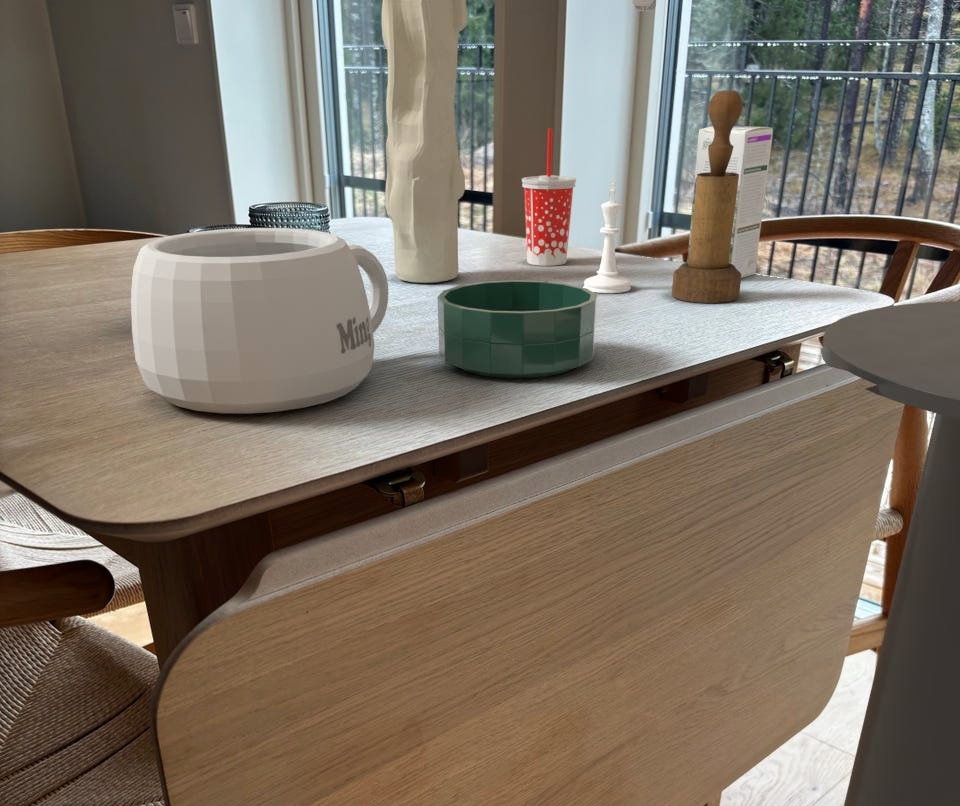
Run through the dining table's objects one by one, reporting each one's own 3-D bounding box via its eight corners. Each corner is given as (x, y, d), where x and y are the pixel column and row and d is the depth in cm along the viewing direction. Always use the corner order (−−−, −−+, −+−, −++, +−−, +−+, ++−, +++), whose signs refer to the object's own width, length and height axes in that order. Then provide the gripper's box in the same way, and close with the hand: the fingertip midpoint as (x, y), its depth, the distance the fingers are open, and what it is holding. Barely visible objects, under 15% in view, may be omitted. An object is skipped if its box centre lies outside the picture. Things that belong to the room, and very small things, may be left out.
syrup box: (757, 274, 108) (776, 125, 100) (728, 282, 104) (746, 128, 97) (712, 268, 111) (727, 124, 104) (683, 275, 107) (697, 126, 100)
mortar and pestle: (683, 304, 94) (704, 91, 85) (662, 291, 100) (679, 89, 91) (749, 301, 95) (776, 90, 86) (724, 288, 101) (747, 89, 92)
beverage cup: (583, 262, 115) (589, 128, 108) (545, 268, 111) (549, 130, 104) (547, 256, 119) (551, 126, 112) (510, 261, 116) (511, 128, 108)
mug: (240, 441, 61) (217, 273, 56) (96, 392, 70) (65, 244, 65) (466, 369, 75) (464, 230, 70) (321, 337, 84) (309, 211, 79)
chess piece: (631, 284, 103) (638, 180, 98) (629, 294, 99) (637, 185, 94) (585, 283, 104) (589, 180, 99) (581, 292, 100) (585, 185, 95)
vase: (481, 278, 107) (479, -57, 92) (428, 290, 101) (417, -64, 86) (423, 269, 112) (413, -51, 97) (370, 280, 106) (350, -57, 91)
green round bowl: (625, 364, 76) (629, 298, 73) (501, 392, 70) (502, 320, 67) (529, 335, 84) (530, 274, 82) (411, 357, 78) (409, 292, 76)
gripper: (706, -245, 65) (684, 2, 72) (698, -181, 83) (680, 13, 90) (612, -241, 66) (598, 2, 73) (623, -179, 84) (611, 13, 91)
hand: (643, 8), depth 82 cm, fingers open, 8 cm apart
